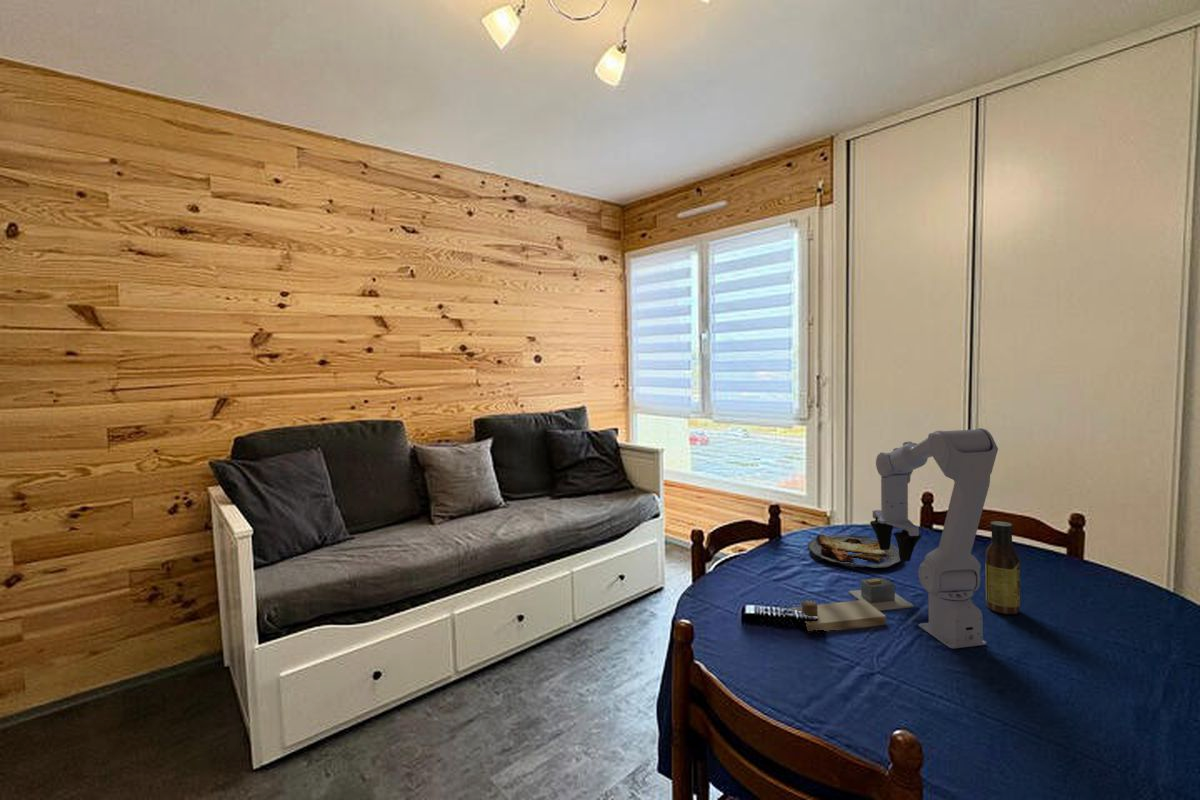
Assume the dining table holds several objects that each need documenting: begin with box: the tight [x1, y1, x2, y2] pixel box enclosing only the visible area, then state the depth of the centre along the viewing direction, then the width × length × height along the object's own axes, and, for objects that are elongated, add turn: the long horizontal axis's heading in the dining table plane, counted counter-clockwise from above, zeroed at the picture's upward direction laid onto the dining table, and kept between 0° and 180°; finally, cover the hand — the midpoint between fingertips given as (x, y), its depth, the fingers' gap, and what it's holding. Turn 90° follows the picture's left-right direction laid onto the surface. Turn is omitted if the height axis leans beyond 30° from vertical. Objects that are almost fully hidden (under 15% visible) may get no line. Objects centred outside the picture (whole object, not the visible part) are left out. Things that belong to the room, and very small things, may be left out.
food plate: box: [807, 533, 901, 569], centre depth 157 cm, size 25×23×4 cm
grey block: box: [860, 577, 896, 603], centre depth 129 cm, size 6×4×5 cm, turn 97°
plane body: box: [790, 599, 887, 632], centre depth 121 cm, size 18×8×4 cm, turn 96°
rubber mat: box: [848, 589, 914, 612], centre depth 129 cm, size 10×10×1 cm
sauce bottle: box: [984, 520, 1021, 615], centre depth 121 cm, size 7×6×20 cm
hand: (894, 554), depth 132 cm, fingers open, 7 cm apart
